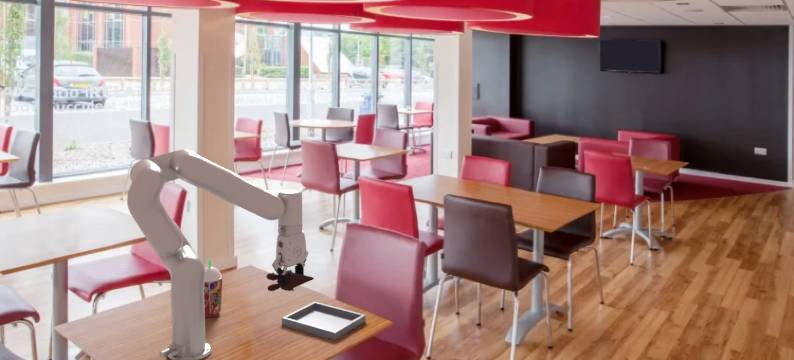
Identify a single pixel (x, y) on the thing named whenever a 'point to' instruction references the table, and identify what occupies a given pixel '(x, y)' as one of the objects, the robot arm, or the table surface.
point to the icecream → (288, 281)
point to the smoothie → (212, 291)
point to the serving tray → (324, 320)
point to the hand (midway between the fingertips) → (291, 281)
